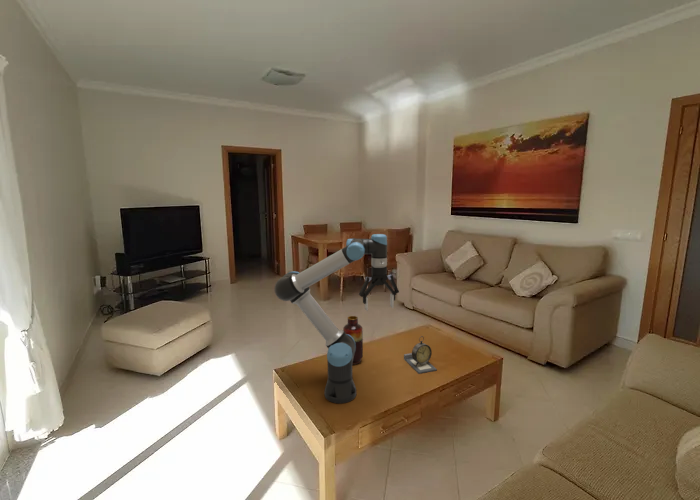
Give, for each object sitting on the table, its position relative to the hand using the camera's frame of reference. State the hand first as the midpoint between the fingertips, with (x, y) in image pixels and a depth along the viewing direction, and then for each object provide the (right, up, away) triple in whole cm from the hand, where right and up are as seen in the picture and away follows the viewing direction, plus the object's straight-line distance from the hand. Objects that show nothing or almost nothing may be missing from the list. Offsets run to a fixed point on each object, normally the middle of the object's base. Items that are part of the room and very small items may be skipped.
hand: (379, 308), depth 166 cm
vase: (-13, -35, +28) cm, 47 cm away
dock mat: (+25, -36, +22) cm, 48 cm away
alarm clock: (+25, -35, +21) cm, 48 cm away
